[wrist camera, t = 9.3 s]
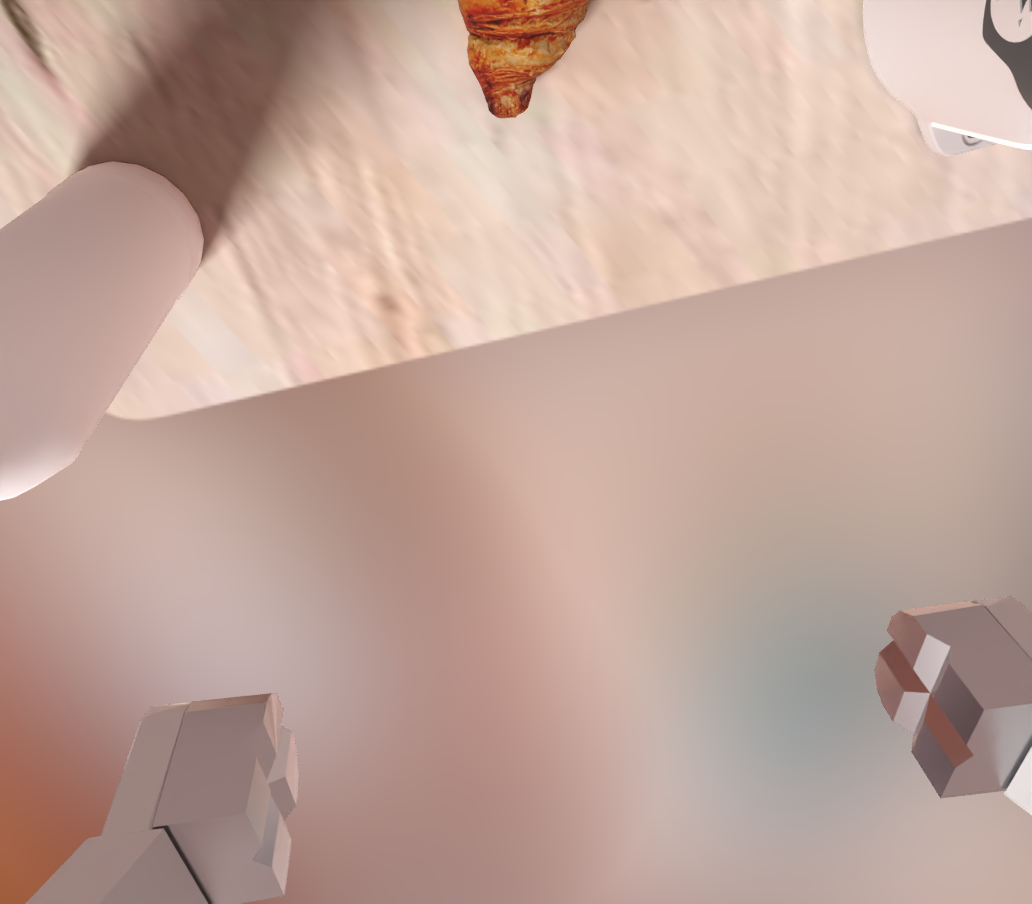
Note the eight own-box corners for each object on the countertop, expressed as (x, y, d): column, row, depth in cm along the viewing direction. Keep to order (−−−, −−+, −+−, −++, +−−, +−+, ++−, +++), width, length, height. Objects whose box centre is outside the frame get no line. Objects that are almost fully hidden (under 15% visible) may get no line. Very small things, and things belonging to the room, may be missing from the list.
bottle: (37, 159, 41) (-522, 496, 16) (187, 156, 42) (-131, 471, 17) (84, 298, 45) (-297, 724, 21) (219, 292, 46) (5, 696, 22)
